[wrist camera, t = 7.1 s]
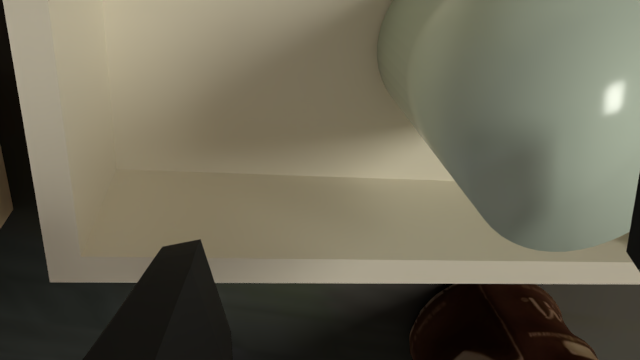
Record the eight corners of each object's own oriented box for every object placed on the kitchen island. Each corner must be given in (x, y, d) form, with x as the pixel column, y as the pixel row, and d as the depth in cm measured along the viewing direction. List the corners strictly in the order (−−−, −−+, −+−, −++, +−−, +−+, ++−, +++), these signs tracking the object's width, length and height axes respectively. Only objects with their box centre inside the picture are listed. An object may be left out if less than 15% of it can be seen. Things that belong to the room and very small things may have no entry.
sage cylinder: (371, 125, 17) (450, 259, 11) (383, -47, 15) (492, 4, 9) (521, 120, 18) (673, 243, 12) (556, -45, 16) (768, 3, 10)
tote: (95, 180, 18) (49, 282, 14) (35, -395, 11) (-90, -548, 7) (589, 196, 21) (680, 284, 16) (773, -259, 14) (1005, -310, 10)
